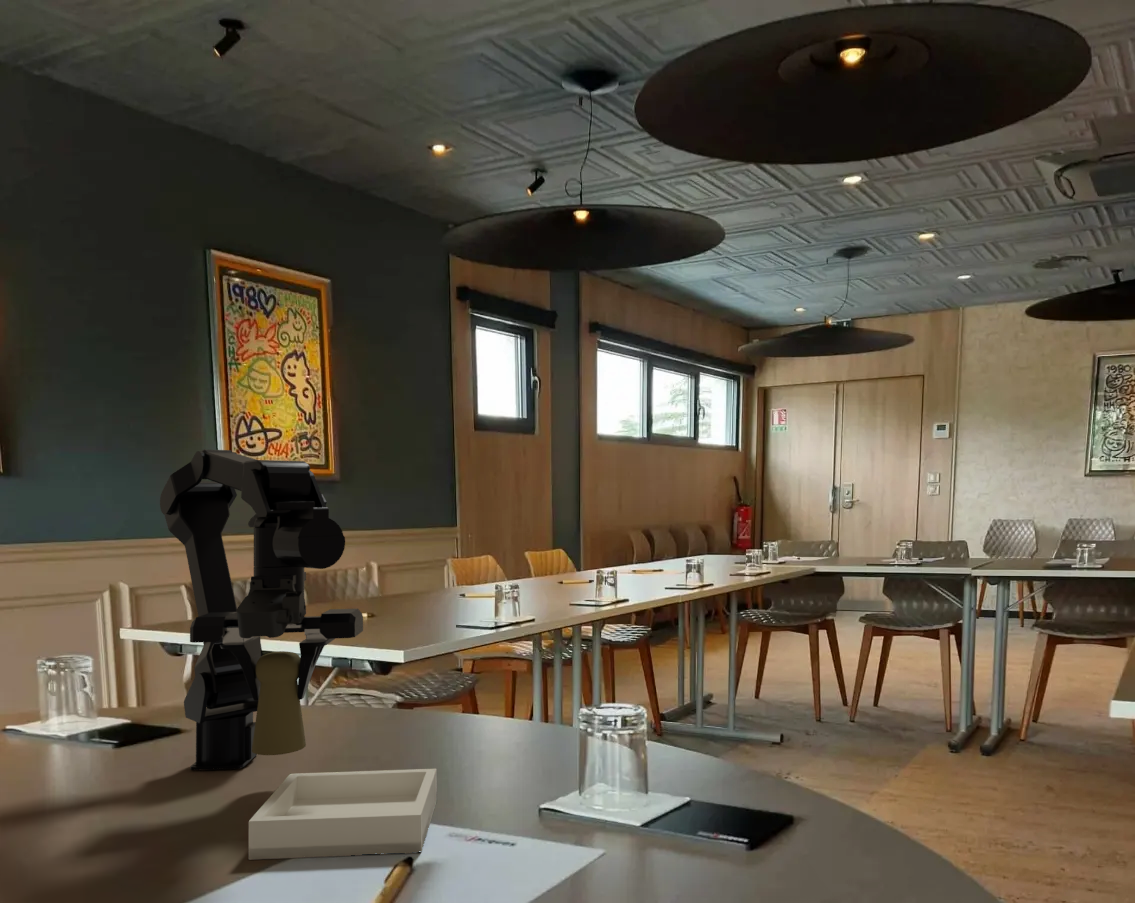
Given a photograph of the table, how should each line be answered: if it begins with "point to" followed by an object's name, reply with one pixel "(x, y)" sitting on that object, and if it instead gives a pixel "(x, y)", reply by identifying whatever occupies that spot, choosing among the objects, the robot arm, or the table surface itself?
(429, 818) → the tray
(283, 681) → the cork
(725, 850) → the table surface
